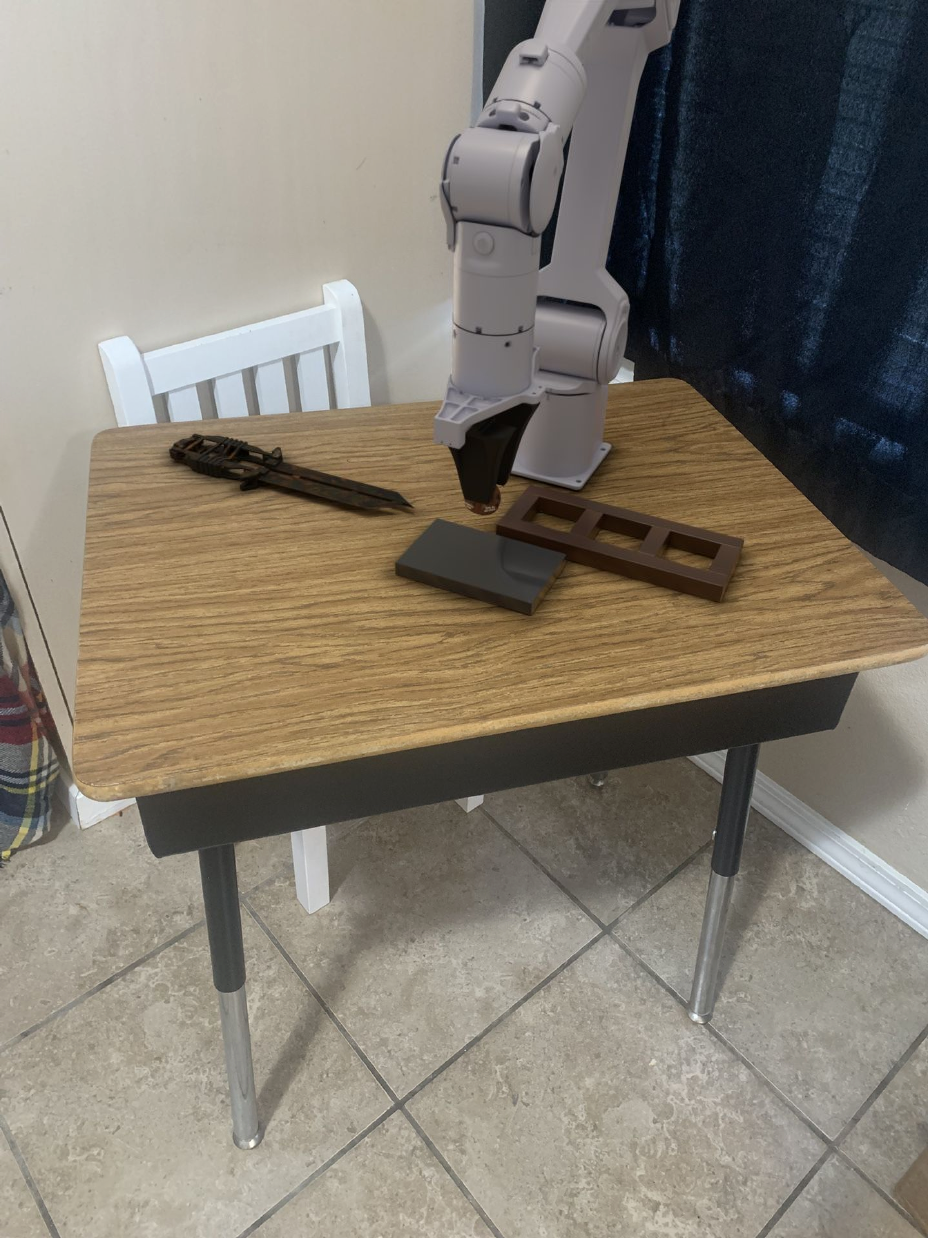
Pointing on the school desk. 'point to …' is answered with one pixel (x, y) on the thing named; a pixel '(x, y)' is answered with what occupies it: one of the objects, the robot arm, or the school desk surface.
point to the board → (481, 565)
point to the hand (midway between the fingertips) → (485, 490)
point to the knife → (274, 464)
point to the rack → (622, 560)
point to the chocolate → (485, 509)
